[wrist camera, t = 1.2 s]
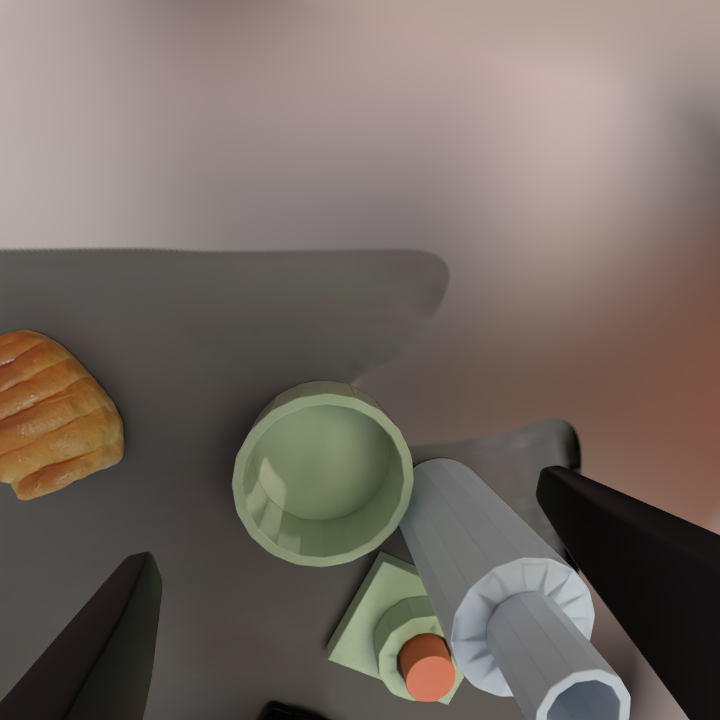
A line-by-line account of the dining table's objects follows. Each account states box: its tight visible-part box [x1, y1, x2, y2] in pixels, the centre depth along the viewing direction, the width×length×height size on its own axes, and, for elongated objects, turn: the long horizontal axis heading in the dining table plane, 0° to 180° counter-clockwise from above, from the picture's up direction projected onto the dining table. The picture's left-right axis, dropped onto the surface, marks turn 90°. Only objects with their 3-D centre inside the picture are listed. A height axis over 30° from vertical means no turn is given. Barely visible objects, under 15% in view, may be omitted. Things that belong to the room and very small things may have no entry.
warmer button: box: [400, 633, 455, 702], centre depth 24 cm, size 3×3×2 cm
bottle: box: [399, 458, 631, 720], centre depth 19 cm, size 6×6×14 cm
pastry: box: [0, 330, 124, 500], centre depth 21 cm, size 9×7×4 cm
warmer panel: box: [327, 551, 464, 705], centre depth 26 cm, size 8×10×3 cm
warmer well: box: [232, 381, 414, 567], centre depth 23 cm, size 10×10×4 cm
